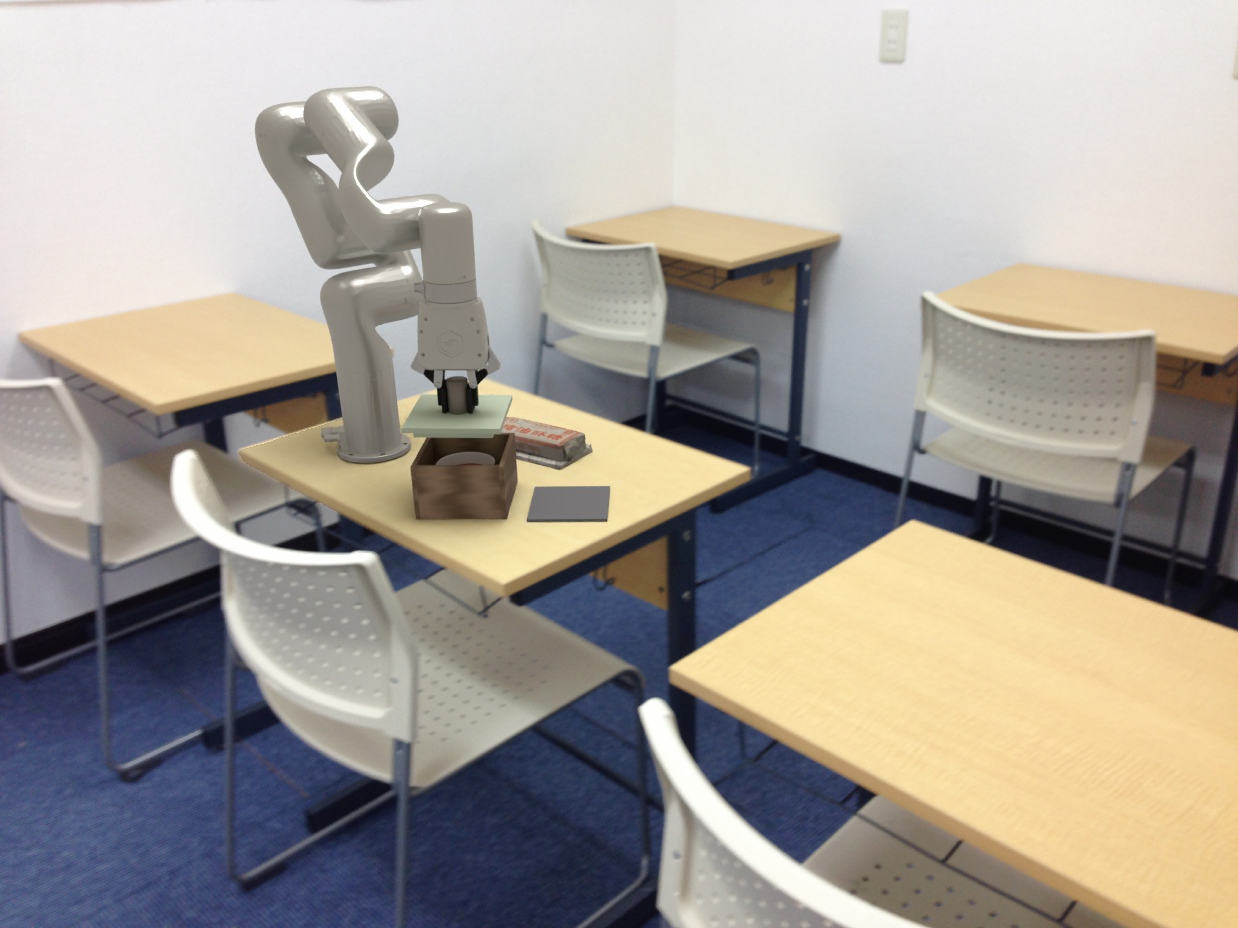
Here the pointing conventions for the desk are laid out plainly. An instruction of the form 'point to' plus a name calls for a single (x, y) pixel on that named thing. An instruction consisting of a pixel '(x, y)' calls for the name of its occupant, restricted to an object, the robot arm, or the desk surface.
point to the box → (464, 479)
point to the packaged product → (546, 443)
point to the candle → (467, 459)
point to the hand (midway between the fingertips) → (458, 409)
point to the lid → (457, 414)
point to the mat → (569, 504)
